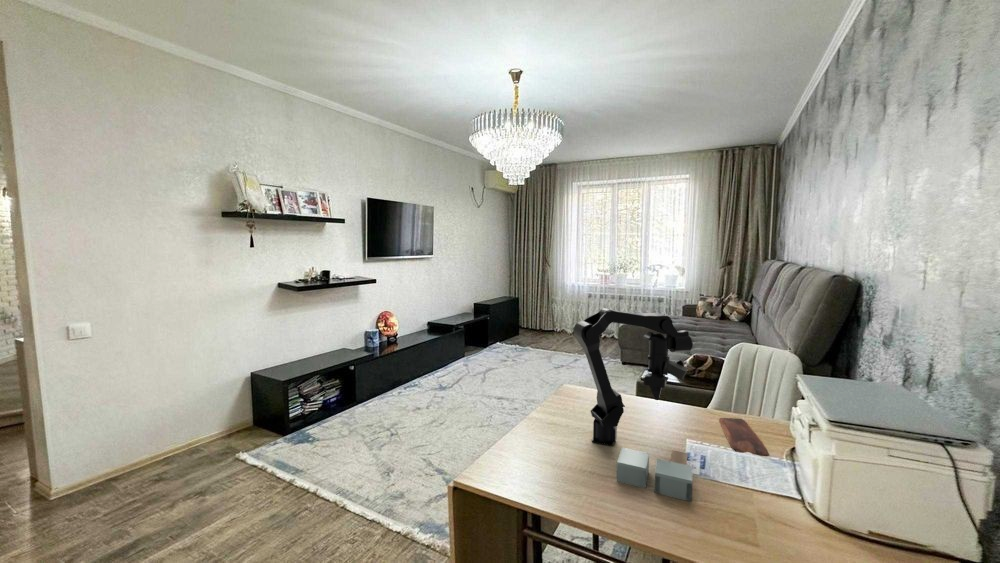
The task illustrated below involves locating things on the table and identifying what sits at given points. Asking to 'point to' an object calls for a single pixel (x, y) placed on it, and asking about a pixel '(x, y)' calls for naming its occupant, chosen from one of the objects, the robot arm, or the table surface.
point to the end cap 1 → (633, 467)
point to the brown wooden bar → (679, 457)
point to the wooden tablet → (742, 436)
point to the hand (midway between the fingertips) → (656, 399)
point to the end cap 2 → (673, 480)
